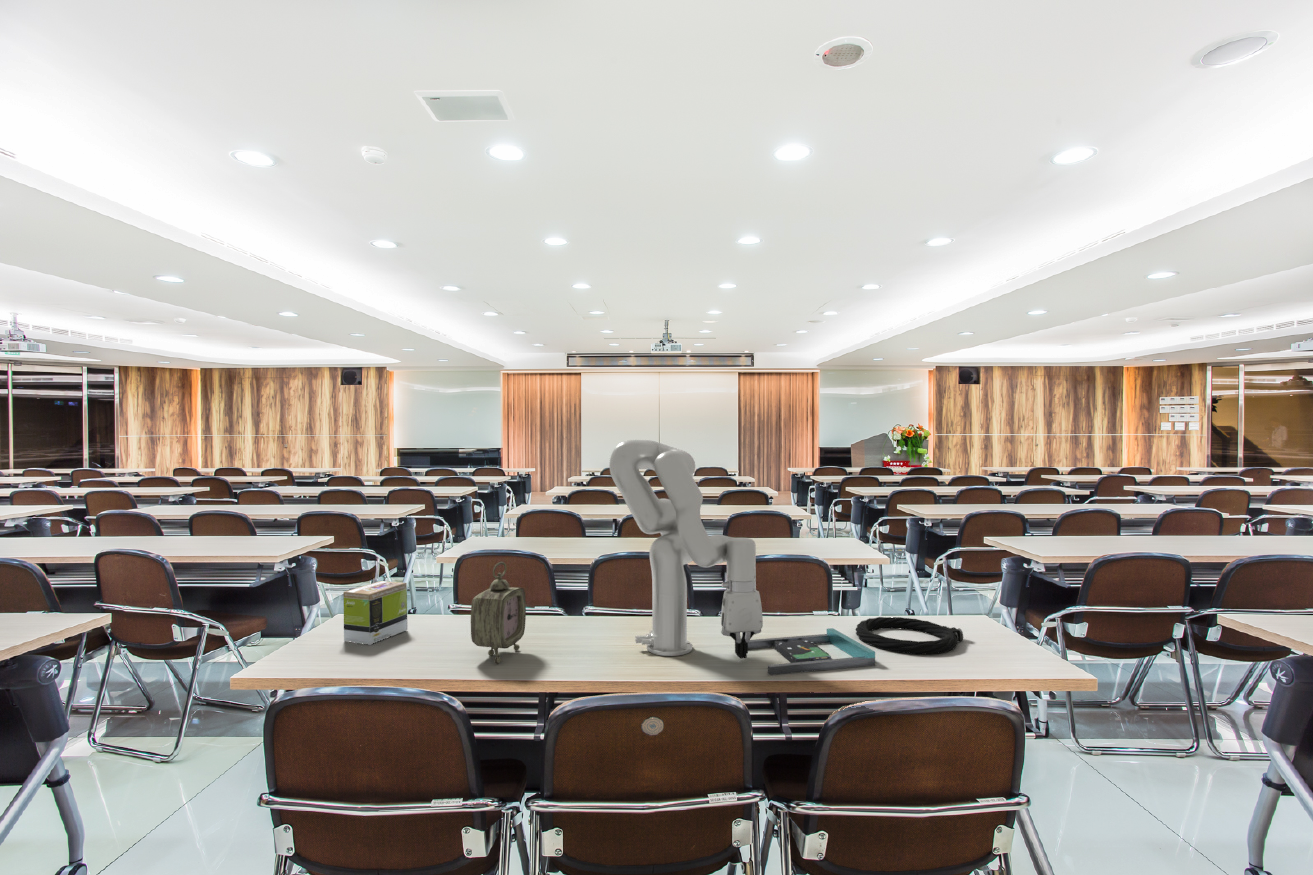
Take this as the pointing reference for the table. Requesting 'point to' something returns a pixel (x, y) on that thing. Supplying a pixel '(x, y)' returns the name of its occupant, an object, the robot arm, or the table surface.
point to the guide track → (856, 650)
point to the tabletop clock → (498, 616)
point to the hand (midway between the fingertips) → (741, 656)
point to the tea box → (375, 612)
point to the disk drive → (801, 651)
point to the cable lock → (906, 646)
